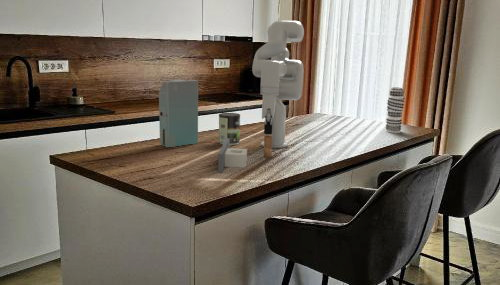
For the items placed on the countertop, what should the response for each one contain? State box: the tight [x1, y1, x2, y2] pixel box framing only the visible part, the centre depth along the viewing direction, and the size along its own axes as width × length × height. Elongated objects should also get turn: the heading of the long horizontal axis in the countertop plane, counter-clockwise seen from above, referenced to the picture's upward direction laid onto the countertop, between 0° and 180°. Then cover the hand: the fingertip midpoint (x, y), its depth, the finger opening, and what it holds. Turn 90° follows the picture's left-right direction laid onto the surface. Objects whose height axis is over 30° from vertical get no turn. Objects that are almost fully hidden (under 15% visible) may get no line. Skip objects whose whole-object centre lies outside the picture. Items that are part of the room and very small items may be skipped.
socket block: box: [224, 147, 248, 168], centre depth 182 cm, size 10×8×5 cm
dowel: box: [263, 134, 273, 159], centre depth 194 cm, size 3×3×10 cm
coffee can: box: [218, 112, 241, 146], centre depth 221 cm, size 10×10×14 cm
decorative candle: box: [385, 86, 405, 134], centre depth 261 cm, size 9×9×25 cm
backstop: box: [217, 138, 231, 174], centre depth 181 cm, size 28×18×8 cm, turn 177°
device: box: [158, 79, 199, 148], centre depth 214 cm, size 16×8×30 cm, turn 132°
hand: (268, 132), depth 192 cm, fingers open, 9 cm apart
